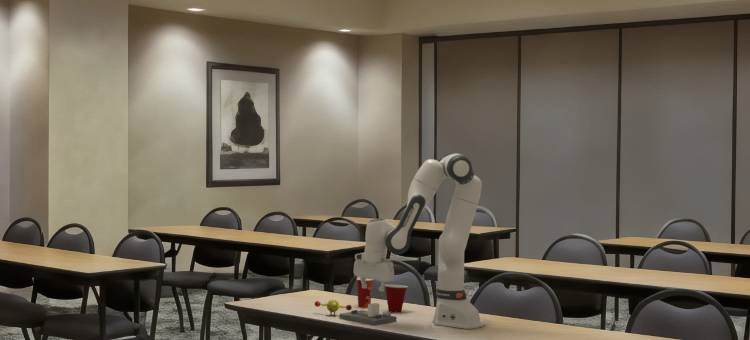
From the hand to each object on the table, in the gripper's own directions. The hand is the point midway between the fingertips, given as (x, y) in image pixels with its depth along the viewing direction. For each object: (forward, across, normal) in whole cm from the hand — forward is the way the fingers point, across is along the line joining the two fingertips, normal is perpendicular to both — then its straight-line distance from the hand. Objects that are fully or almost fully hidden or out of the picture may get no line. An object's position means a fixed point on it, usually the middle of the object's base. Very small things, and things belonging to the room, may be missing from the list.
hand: (372, 289), depth 399 cm
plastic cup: (+13, +9, -27) cm, 31 cm away
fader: (+11, -1, -1) cm, 11 cm away
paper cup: (+14, +26, -25) cm, 39 cm away
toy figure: (+14, +20, +2) cm, 25 cm away
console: (+14, +3, -2) cm, 14 cm away
